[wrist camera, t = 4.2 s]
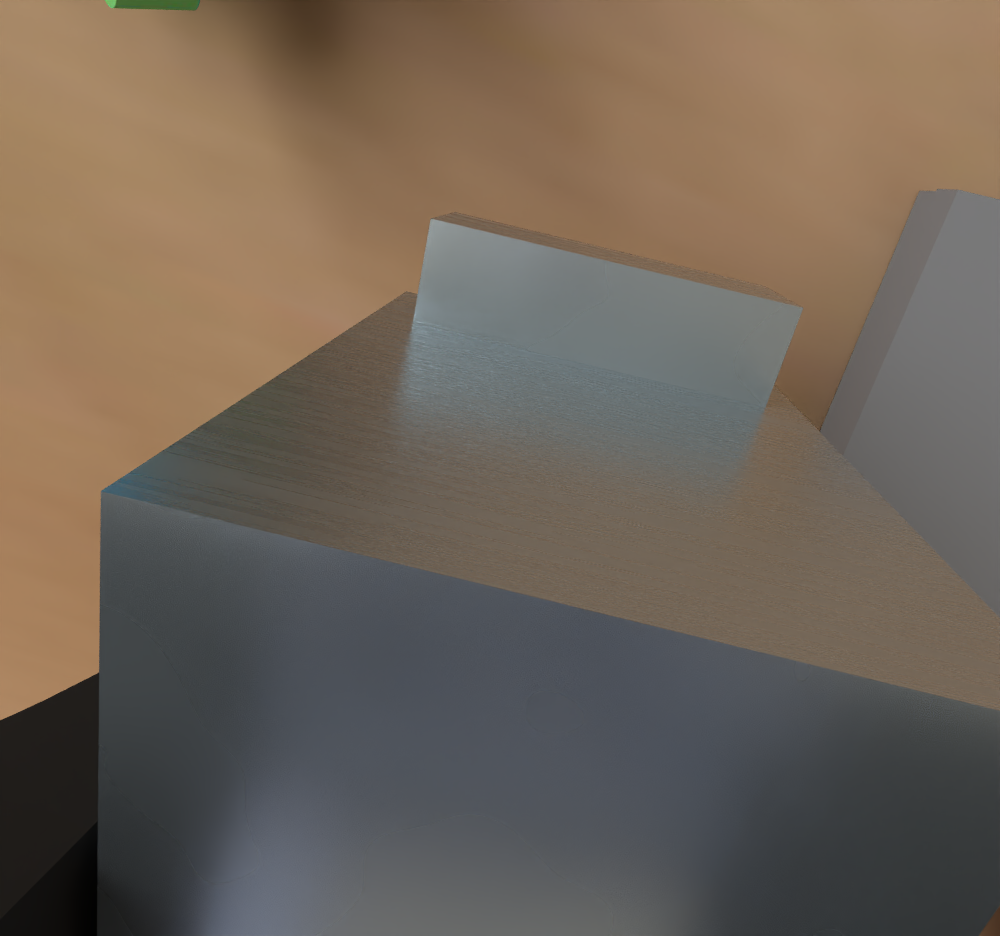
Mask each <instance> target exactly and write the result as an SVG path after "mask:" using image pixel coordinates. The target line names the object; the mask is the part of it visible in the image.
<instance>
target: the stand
mask: <svg viewBox="0 0 1000 936" xmlns="http://www.w3.org/2000/svg"><path fill="white" fill-rule="evenodd" d="M820 433H821V434H822V435H823V436H824V437H825V438H826V439H827V440H828V441H829V442H830V443H831V444H832V445H833V446H834V447H835V448H836V449H837V450H838V451H839V452H840V453H841V454H842V455H843V456H844V457H845V459H846V460H847V461H848V462H849V463H850V464H851V465H852V466H853V467H854V468H855V469H856V470H857V471H858V472H859V473H860V474H861V475H862V476H863V477H864V478H865V479H866V480H867V481H868V482H869V483H870V484H871V485H872V486H873V487H874V488H875V490H876V491H877V492H878V493H879V494H880V495H881V496H882V497H883V498H884V499H885V500H886V501H887V502H888V503H889V504H890V505H891V506H892V507H893V508H894V509H895V510H896V511H897V512H898V513H899V514H900V515H901V516H902V517H903V518H904V520H905V521H906V522H907V523H908V524H909V525H910V526H911V527H912V528H913V529H914V530H915V531H916V532H917V533H918V534H919V535H920V536H921V537H922V538H923V539H924V540H925V541H926V542H927V543H928V544H929V545H930V546H931V547H932V548H933V549H934V551H935V552H936V553H937V554H938V555H939V556H940V557H941V558H942V559H943V560H944V561H945V562H946V563H947V564H948V565H949V566H950V567H951V568H952V569H953V570H954V571H955V572H956V573H957V574H958V575H959V576H960V577H961V578H962V579H963V580H964V582H965V583H966V584H967V585H968V586H969V587H970V588H971V589H972V590H973V591H974V592H975V593H976V594H977V595H978V596H979V597H980V598H981V599H982V600H983V601H984V602H985V603H986V604H987V605H988V606H989V607H990V608H991V609H992V610H993V612H994V613H995V614H996V615H997V616H998V617H999V618H1000V200H999V199H995V198H991V197H986V196H982V195H978V194H974V193H969V192H965V191H961V190H948V189H937V191H919V194H918V196H917V198H916V201H915V203H914V206H913V208H912V210H911V213H910V215H909V218H908V220H907V222H906V225H905V227H904V230H903V232H902V235H901V237H900V239H899V242H898V244H897V247H896V249H895V251H894V254H893V256H892V259H891V261H890V263H889V266H888V268H887V271H886V273H885V276H884V278H883V280H882V283H881V285H880V288H879V290H878V292H877V295H876V297H875V300H874V302H873V304H872V307H871V309H870V312H869V314H868V317H867V319H866V321H865V324H864V326H863V329H862V331H861V333H860V336H859V338H858V341H857V343H856V345H855V348H854V350H853V353H852V355H851V358H850V360H849V362H848V365H847V367H846V370H845V372H844V374H843V377H842V379H841V382H840V384H839V386H838V389H837V391H836V394H835V396H834V398H833V401H832V403H831V406H830V408H829V411H828V413H827V415H826V418H825V420H824V423H823V425H822V427H821V430H820Z"/></svg>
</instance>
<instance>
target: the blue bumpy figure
mask: <svg viewBox="0 0 1000 936" xmlns="http://www.w3.org/2000/svg"><path fill="white" fill-rule="evenodd" d="M105 1H106V3H107V4H108V6H110V7H111V8H128V9H163V10H196V9H197V8H198V6H199V2H200V0H105Z"/></svg>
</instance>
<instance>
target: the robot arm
mask: <svg viewBox="0 0 1000 936" xmlns="http://www.w3.org/2000/svg"><path fill="white" fill-rule="evenodd" d="M98 759H99V673H98V674H96V675H94V676H92V677H90V678H88V679H86V680H84V681H82V682H80V683H78V684H76V685H74V686H72V687H70V688H68V689H66V690H64V691H62V692H60V693H58V694H56V695H54V696H52V697H50V698H48V699H46V700H44V701H42V702H40V703H38V704H35V705H33V706H31V707H29V708H27V709H25V710H23V711H20V712H18V713H16V714H14V715H12V716H9V717H7V718H5V719H3V720H0V936H97V867H98Z"/></svg>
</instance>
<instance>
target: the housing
mask: <svg viewBox="0 0 1000 936" xmlns="http://www.w3.org/2000/svg"><path fill="white" fill-rule="evenodd" d="M802 310H803V307H801V306H799V305H797V304H795V303H794V302H792V301H790V300H788V299H787V298H785V297H783V296H781V295H779V294H778V293H776V292H774V291H772V290H771V289H769V288H767V287H765V286H761V285H757V284H753V283H749V282H745V281H740V280H736V279H732V278H728V277H724V276H720V275H715V274H711V273H707V272H703V271H699V270H695V269H690V268H686V267H682V266H678V265H674V264H670V263H665V262H661V261H657V260H653V259H649V258H644V257H640V256H636V255H632V254H628V253H624V252H619V251H615V250H611V249H607V248H603V247H599V246H594V245H590V244H586V243H582V242H578V241H574V240H569V239H565V238H561V237H557V236H553V235H548V234H544V233H540V232H536V231H532V230H528V229H523V228H519V227H515V226H511V225H507V224H503V223H498V222H494V221H490V220H486V219H482V218H478V217H473V216H469V215H465V214H461V213H457V212H454V213H450V214H447V215H443V216H439V217H435V218H431V221H430V227H429V232H428V238H427V244H426V250H425V255H424V261H423V267H422V273H421V278H420V284H419V290H418V294H415V293H411V292H407V291H406V292H405V293H403V294H402V295H400V296H399V297H397V298H396V299H394V300H393V301H391V302H389V303H388V304H386V305H385V306H383V307H382V308H380V309H379V310H377V311H376V312H374V313H373V314H371V315H370V316H368V317H367V318H365V319H363V320H362V321H360V322H359V323H357V324H356V325H354V326H353V327H351V328H350V329H348V330H347V331H345V332H344V333H342V334H341V335H339V336H338V337H336V338H334V339H333V340H331V341H330V342H328V343H327V344H325V345H324V346H322V347H321V348H319V349H318V350H316V351H315V352H313V353H312V354H310V355H308V356H307V357H305V358H304V359H302V360H301V361H299V362H298V363H296V364H295V365H293V366H292V367H290V368H289V369H287V370H286V371H284V372H282V373H281V374H279V375H278V376H276V377H275V378H273V379H272V380H270V381H269V382H267V383H266V384H264V385H263V386H261V387H260V388H258V389H256V390H255V391H253V392H252V393H250V394H249V395H247V396H246V397H244V398H243V399H241V400H240V401H238V402H237V403H235V404H234V405H232V406H230V407H229V408H227V409H226V410H224V411H223V412H221V413H220V414H218V415H217V416H215V417H214V418H212V419H211V420H209V421H208V422H206V423H205V424H203V425H201V426H200V427H198V428H197V429H195V430H194V431H192V432H191V433H189V434H188V435H186V436H185V437H183V438H182V439H180V440H179V441H177V442H175V443H174V444H172V445H171V446H169V447H168V448H166V449H165V450H163V451H162V452H160V453H159V454H157V455H156V456H154V457H153V458H151V459H149V460H148V461H146V462H145V463H143V464H142V465H140V466H139V467H137V468H136V469H134V470H133V471H131V472H130V473H128V474H127V475H125V476H123V477H122V478H120V479H119V480H117V481H116V482H114V483H113V484H111V485H110V486H108V487H107V488H105V489H104V490H102V491H101V542H100V650H99V759H98V867H97V936H979V935H980V933H981V932H982V930H983V929H984V928H985V926H986V925H987V923H988V922H989V920H990V919H991V918H992V916H993V915H994V913H995V912H996V911H997V909H998V908H999V906H1000V618H999V617H998V616H997V615H996V614H995V613H994V612H993V610H992V609H991V608H990V607H989V606H988V605H987V604H986V603H985V602H984V601H983V600H982V599H981V598H980V597H979V596H978V595H977V594H976V593H975V592H974V591H973V590H972V589H971V588H970V587H969V586H968V585H967V584H966V583H965V582H964V580H963V579H962V578H961V577H960V576H959V575H958V574H957V573H956V572H955V571H954V570H953V569H952V568H951V567H950V566H949V565H948V564H947V563H946V562H945V561H944V560H943V559H942V558H941V557H940V556H939V555H938V554H937V553H936V552H935V551H934V549H933V548H932V547H931V546H930V545H929V544H928V543H927V542H926V541H925V540H924V539H923V538H922V537H921V536H920V535H919V534H918V533H917V532H916V531H915V530H914V529H913V528H912V527H911V526H910V525H909V524H908V523H907V522H906V521H905V520H904V518H903V517H902V516H901V515H900V514H899V513H898V512H897V511H896V510H895V509H894V508H893V507H892V506H891V505H890V504H889V503H888V502H887V501H886V500H885V499H884V498H883V497H882V496H881V495H880V494H879V493H878V492H877V491H876V490H875V488H874V487H873V486H872V485H871V484H870V483H869V482H868V481H867V480H866V479H865V478H864V477H863V476H862V475H861V474H860V473H859V472H858V471H857V470H856V469H855V468H854V467H853V466H852V465H851V464H850V463H849V462H848V461H847V460H846V459H845V457H844V456H843V455H842V454H841V453H840V452H839V451H838V450H837V449H836V448H835V447H834V446H833V445H832V444H831V443H830V442H829V441H828V440H827V439H826V438H825V437H824V436H823V435H822V434H821V433H820V432H819V431H818V430H817V429H816V428H815V426H814V425H813V424H812V423H811V422H810V421H809V420H808V419H807V418H806V417H805V416H804V415H803V414H802V413H801V412H800V411H799V410H798V409H797V408H796V407H795V406H794V405H793V404H792V403H791V402H790V401H789V400H788V399H787V398H786V396H785V395H784V394H783V393H782V392H781V391H780V390H779V389H778V388H777V387H776V386H775V385H774V384H775V381H776V378H777V376H778V373H779V370H780V368H781V365H782V363H783V360H784V357H785V355H786V352H787V349H788V347H789V344H790V341H791V339H792V336H793V334H794V331H795V328H796V326H797V323H798V320H799V318H800V315H801V312H802Z"/></svg>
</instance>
